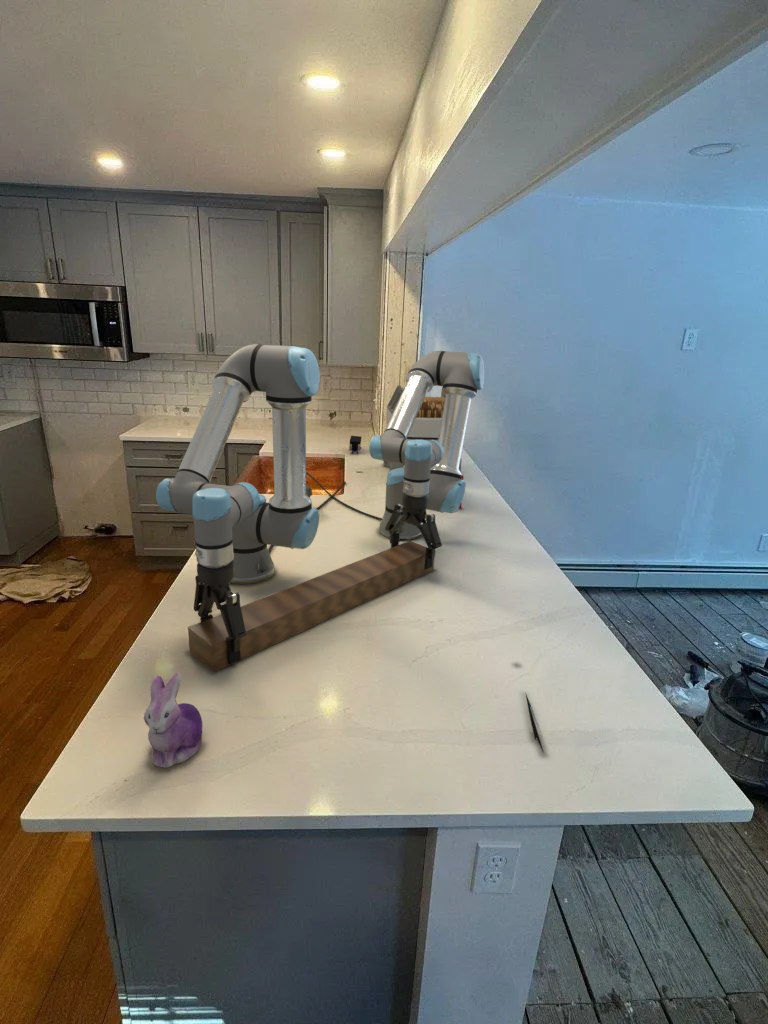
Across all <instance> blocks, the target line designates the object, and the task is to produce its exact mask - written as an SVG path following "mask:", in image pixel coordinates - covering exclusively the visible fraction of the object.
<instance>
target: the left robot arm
mask: <svg viewBox="0 0 768 1024" xmlns="http://www.w3.org/2000/svg"><path fill="white" fill-rule="evenodd" d="M319 367H320V366H319V363H318V360H317V358H316V355H315V354H314V353H313V351H312V350H310V349H309V348H306V347H299V346H295V345H275V344H273V345H271V344H269V345H268V344H259V343H254V344H249V345H245V346H243V347H241V348H239V349H238V350H236V351H235V352H233V353H232V354H231V355H230V356H228V358H226V359H225V361H224V362H223V363H222V364H221V366H220V367H219V368H218V370H217V371H216V373H215V376H214V378H213V380H212V382H211V386H212V389H213V391H212V393H211V395H210V397H209V400H208V402H207V403H206V407H205V409H204V411H203V413H202V415H201V418H200V421H199V423H198V424H197V426H196V429H195V432H194V433H193V436H192V438H191V441H190V442H189V445H188V447H187V449H186V452H185V454H184V456H183V458H182V461H181V463H180V465H179V468H178V470H177V471H176V474H175V476H174V477H169V478H164V479H162V481H160V482H159V483H158V485H157V488H156V490H155V499H156V503H157V505H158V506H159V508H160V509H162V510H163V511H167V512H170V513H171V512H172V513H176V514H180V515H181V514H185V515H192V519H193V529H194V530H193V531H194V539H195V540H194V543H195V553H194V555H195V557H196V562H197V563H196V572H197V573H196V574H197V575H195V592H194V599H193V601H194V602H193V611H194V612H197V615H198V618H199V622H202V621H205V620H208V619H210V618H213V617H214V615H213V607H214V605H215V608H216V609H217V610H218V611H220V614H221V615H222V618H223V621H224V624H225V627H226V629H227V632H228V635H229V637H227V638H226V640H227V653H228V664H230V665H229V666H231V665H233V664H235V663H237V662H240V661H242V659H241V655H240V638H243V637H245V636H246V630H245V625H244V620H243V616H242V611H241V606H242V605H241V597H240V593H239V592H235V593H234V592H233V591H232V587H231V586H230V583H232V584H238V585H250V584H257V583H260V582H264V581H266V580H268V579H270V578H271V577H273V575H274V572H275V564H274V561H273V559H272V556H271V553H270V552H271V550H272V549H273V547H281V548H288V549H291V550H294V549H298V550H306V549H308V548H309V547H310V546H311V545H312V543H313V542H314V540H315V538H316V535H317V534H318V533H317V532H318V528H319V525H320V513H319V509H321V508H322V507H324V505H326V504H328V502H329V501H330V500H331V499H333V498H332V496H334V497H335V495H337V493H339V491H340V490H341V489H342V488H343V487H344V486H345V484H346V481H343V482H342V483H341V485H340V486H339V487H338V488H337V490H335V491H334V493H332V494H331V495H332V496H330V497H328V498H327V499H326V500H325V501H324V502H322V503H321V504H320V505H319V506H318V507H316V508H315V507H312V506H313V504H312V503H313V501H312V498H311V497H310V498H309V497H308V496H307V495H306V485H307V474H306V472H307V416H306V415H307V411H306V409H307V407H308V406H309V405H310V404H311V403H312V397H313V396H316V395H317V394H318V392H319V390H320V384H321V374H320V373H321V372H320V368H319ZM254 392H263V393H265V401H266V402H267V403H268V404H269V405H270V406H271V410H272V411H271V416H272V417H271V418H272V453H273V456H272V457H273V458H272V460H273V493H274V494H273V495H272V496H271V497H270V498H269V499H268V502H267V497H266V496H265V495H263V494H262V493H261V494H260V493H259V491H258V489H257V488H256V487H255V486H254V485H253V484H251V483H250V482H246V481H241V482H237V483H234V484H233V485H224V484H216V483H211V480H212V478H213V475H214V473H215V472H216V468H217V466H218V463H219V461H220V459H221V457H222V453H223V452H224V449H225V447H226V445H227V442H228V439H229V437H230V435H231V432H232V429H233V427H234V425H235V422H236V420H237V417H238V416H239V413H240V410H241V409H242V405H243V404H244V403H247V402H248V401H249V400H250V397H251V394H253V393H254ZM268 546H269V548H268Z"/></svg>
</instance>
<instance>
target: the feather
mask: <svg viewBox="0 0 768 1024" xmlns="http://www.w3.org/2000/svg"><path fill="white" fill-rule="evenodd" d="M525 697H526V698H525V699H526V703H527V708H528V714H529V719H530V723H531V728H532V733H533V738H534V740H537V742H538V744H539V746H540V749H541V751H542V753H545V751H544V749H543V746H542V741H541V739H543V737H544V736H543V734H541V735H542V736H539V733H542V730H541V729H539V731H538V728H539V727H540V725H539V723H538V721H537V719H536V716H535V713H534V711H533V708H532V705H531V703H530V700H529V697H528V694H527V692H526V691H525ZM536 725H537V726H536ZM540 737H541V739H540ZM544 744H545V743H544ZM544 746H547V745H546V744H545V745H544Z"/></svg>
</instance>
